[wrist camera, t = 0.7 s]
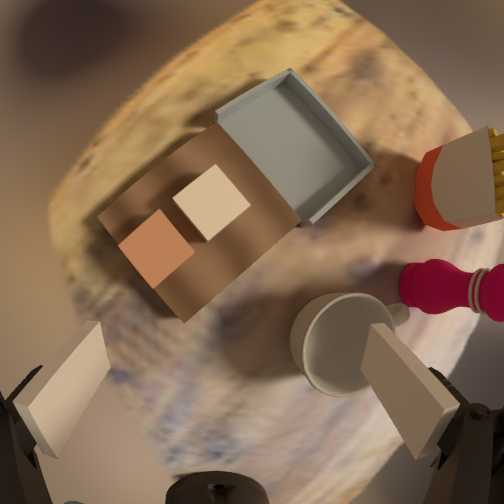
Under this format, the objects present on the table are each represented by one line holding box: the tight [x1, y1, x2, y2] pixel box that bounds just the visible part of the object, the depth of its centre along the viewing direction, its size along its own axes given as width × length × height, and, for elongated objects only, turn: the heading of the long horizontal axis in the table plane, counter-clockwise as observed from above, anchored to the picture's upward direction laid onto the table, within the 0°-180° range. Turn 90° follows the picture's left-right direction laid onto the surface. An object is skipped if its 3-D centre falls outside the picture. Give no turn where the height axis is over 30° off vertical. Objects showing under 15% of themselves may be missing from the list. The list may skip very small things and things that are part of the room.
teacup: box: [290, 293, 410, 397], centre depth 30 cm, size 14×11×8 cm
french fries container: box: [415, 126, 504, 231], centre depth 28 cm, size 5×11×18 cm, turn 170°
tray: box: [213, 68, 376, 228], centre depth 32 cm, size 12×16×4 cm
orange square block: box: [118, 209, 195, 289], centre depth 26 cm, size 5×5×3 cm
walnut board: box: [97, 122, 302, 323], centre depth 30 cm, size 16×14×3 cm
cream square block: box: [173, 164, 250, 242], centre depth 27 cm, size 5×5×3 cm
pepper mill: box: [399, 259, 504, 322], centre depth 26 cm, size 7×7×20 cm
